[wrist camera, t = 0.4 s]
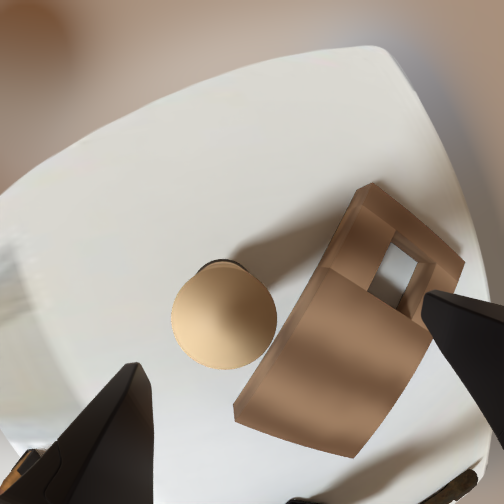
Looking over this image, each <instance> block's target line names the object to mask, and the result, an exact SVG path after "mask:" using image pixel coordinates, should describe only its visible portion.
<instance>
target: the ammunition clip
mask: <svg viewBox="0 0 504 504" xmlns="http://www.w3.org/2000/svg"><path fill="white" fill-rule="evenodd" d="M40 458H41V457H40V456H39V454H38V453H37V452H36V450H35V449H30V450H27V451H26V452H25V453H24V454H23V456H22V457H21V458H20V459H19V461H18V462H17V463H16V465H15V466H14V467H13V468H12V470H11V472H10V474H9V475H8V476H7V477H6V479H4V481H3V483H2V485H1V486H0V495H1V494H2V493H3V492H5V491H6V490H7V489H8V488H9V487H10V486H11V485H12V484H13V483H15V482H16V481H17V480H18V479H19V478H20V477H21V476H22V475H23V474H24V473H25V472H26V471H28V470H29V469H30V468H31V467H32V466H33V465H34V464H35V463H36V462H37V461H38V460H39V459H40Z"/></svg>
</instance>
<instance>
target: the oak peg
mask: <svg viewBox="0 0 504 504" xmlns="http://www.w3.org/2000/svg"><path fill="white" fill-rule="evenodd" d="M171 322H172V329H173V333H174V335H175V338H176V340H177V342H178V344H179V345H180V347H181V348H182V350H183V351H184V352H185V353H186V354H187V355H188V356H189V357H190V358H192V359H193V360H195V361H196V362H198V363H200V364H202V365H204V366H207V367H210V368H214V369H223V370H227V369H235V368H240V367H243V366H245V365H247V364H250V363H251V362H253V361H255V360H256V359H257V358H259V357H260V356H261V355H262V354H263V353H264V352H265V351H266V349H267V348H268V347H269V345H270V343H271V342H272V340H273V337H274V334H275V331H276V326H277V312H276V307H275V304H274V301H273V298H272V296H271V294H270V293H269V291H268V290H267V288H266V287H265V286H264V285H263V284H262V283H261V282H260V281H259V280H258V279H256V278H255V277H254V276H252V275H251V274H249V272H248V271H247V270H246V269H245V268H244V267H243V266H242V265H240V264H239V263H237V262H235V261H232V260H228V259H218V260H214V261H211V262H209V263H207V264H205V265H204V266H203V267H202V268H200V270H199V271H198V272H197V274H196V275H195V276H194V277H192V278H191V279H190V280H189V281H188V282H187V283H185V285H184V286H183V287H182V288H181V290H180V291H179V293H178V294H177V296H176V298H175V301H174V304H173V307H172V313H171Z"/></svg>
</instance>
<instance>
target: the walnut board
mask: <svg viewBox="0 0 504 504" xmlns="http://www.w3.org/2000/svg"><path fill="white" fill-rule="evenodd" d="M390 242H392V243H393V244H394V245H396V246H397V247H398V248H400V249H401V250H402V251H404V252H405V253H406V254H407V255H409V256H410V257H411V258H413V259H414V260H415V261H416V262H418V263H417V266H416V268H415V270H414V273H413V275H412V277H411V279H410V281H409V284H408V286H407V288H406V290H405V292H404V294H403V296H402V298H401V300H400V303H399V305H398V307H397V309H394V308H392V307H391V306H389V305H388V304H386V303H385V302H383V301H382V300H380V299H379V298H377V297H375V296H374V295H372V294H371V293H369V292H368V291H367V290H368V288H369V286H370V284H371V282H372V280H373V278H374V276H375V274H376V272H377V270H378V268H379V266H380V264H381V262H382V259H383V257H384V255H385V253H386V251H387V249H388V247H389V244H390ZM464 264H465V261H464V260H463V259H462V258H461V257H460V256H459V255H457V254H456V253H455V252H454V251H453V250H452V249H451V248H450V247H449V246H448V245H447V244H446V243H445V242H444V241H443V240H442V239H441V238H439V237H438V236H437V235H436V234H435V233H434V232H433V231H432V230H431V229H429V228H428V227H427V226H426V225H425V224H424V223H423V222H421V221H420V220H419V219H418V218H417V217H415V216H414V215H413V214H412V213H411V212H410V211H408V210H407V209H406V208H405V207H403V206H402V205H401V204H400V203H398V202H397V201H396V200H395V199H393V198H392V197H391V196H390V195H388V194H387V193H386V192H384V191H383V190H382V189H381V188H379V187H378V186H377V185H375V184H374V183H373V182H372V183H370V184H368V185H366V186H364V187H362V188H360V189H357V190H356V192H355V194H354V196H353V198H352V200H351V202H350V205H349V207H348V209H347V211H346V212H345V214H344V216H343V218H342V220H341V222H340V224H339V226H338V228H337V230H336V232H335V234H334V236H333V238H332V240H331V242H330V243H329V245H328V247H327V249H326V251H325V253H324V255H323V257H322V258H321V260H320V262H319V264H318V266H317V268H316V269H315V271H314V273H313V275H312V277H311V278H310V280H309V282H308V284H307V286H306V287H305V289H304V291H303V293H302V294H301V296H300V298H299V300H298V301H297V303H296V305H295V306H294V308H293V310H292V312H291V313H290V315H289V317H288V318H287V320H286V322H285V323H284V325H283V327H282V328H281V330H280V332H279V333H278V335H277V337H276V338H275V340H274V342H273V343H272V345H271V346H270V348H269V350H268V351H267V353H266V355H265V356H264V358H263V359H262V361H261V362H260V364H259V366H258V367H257V369H256V370H255V372H254V373H253V375H252V376H251V378H250V380H249V381H248V383H247V384H246V386H245V387H244V389H243V390H242V392H241V393H240V395H239V396H238V398H237V399H236V401H235V402H234V404H233V408H234V418H235V422H237V423H240V424H242V425H245V426H247V427H250V428H252V429H255V430H258V431H260V432H263V433H266V434H269V435H271V436H274V437H277V438H280V439H283V440H286V441H289V442H292V443H296V444H299V445H302V446H306V447H309V448H313V449H316V450H320V451H324V452H327V453H331V454H336V455H340V456H344V457H349V458H354V457H355V456H356V455H357V454H358V453H359V451H360V450H361V449H362V448H363V446H364V445H365V444H366V443H367V441H368V440H369V439H370V438H371V436H372V435H373V434H374V432H375V431H376V430H377V428H378V427H379V426H380V424H381V423H382V422H383V420H384V419H385V417H386V416H387V415H388V413H389V412H390V410H391V409H392V407H393V406H394V404H395V403H396V401H397V400H398V398H399V397H400V395H401V394H402V392H403V391H404V389H405V387H406V386H407V384H408V383H409V381H410V379H411V378H412V376H413V374H414V373H415V371H416V369H417V367H418V366H419V364H420V362H421V360H422V358H423V357H424V355H425V353H426V351H427V349H428V347H429V345H430V343H431V341H432V339H433V337H432V335H431V334H430V332H429V331H428V329H427V327H426V326H425V324H424V322H423V321H422V318H421V309H422V303H423V297H424V295H425V293H426V292H429V291H431V290H435V289H436V290H440V291H444V292H449V293H454V291H455V288H456V286H457V283H458V281H459V278H460V275H461V272H462V270H463V267H464Z"/></svg>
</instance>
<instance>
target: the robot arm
mask: <svg viewBox="0 0 504 504" xmlns="http://www.w3.org/2000/svg"><path fill="white" fill-rule="evenodd" d="M421 318H422V321H423V322H424V324H425V326H426V327H427V329H428V331H429V332H430V334H431V335H432V337H433V339H434V340H435V342H436V344H437V346H438V347H439V349H440V351H441V352H442V354H443V355H444V357H445V358H446V359H447V361H448V362H449V364H450V365H451V366H452V368H453V369H454V371H455V372H456V374H457V375H458V376H459V378H460V379H461V381H462V382H463V384H464V385H465V387H466V388H467V390H468V391H469V393H470V394H471V396H472V397H473V399H474V400H475V402H476V404H477V405H478V407H479V408H480V410H481V412H482V413H483V415H484V416H485V418H486V420H487V421H488V423H489V425H490V426H491V428H492V430H493V431H494V433H495V435H496V437H497V438H498V440H499V442H500V444H501V446H502V448H503V450H504V306H502V305H498V304H494V303H490V302H486V301H482V300H478V299H473V298H469V297H465V296H461V295H457V294H453V293H449V292H444V291H440V290H436V289H435V290H431V291H429V292H426V293H425V295H424V297H423V303H422V309H421ZM153 455H154V423H153V407H152V388H151V384H150V381H149V379H148V377H147V375H146V373H145V371H144V369H143V367H142V365H141V364H140V363H138V362H135V363H127V364H125V365H124V366H123V367H122V368H121V369H120V370H119V372H118V373H117V374H116V375H115V376H114V377H113V378H112V379H111V380H110V381H109V382H108V384H107V385H106V386H105V387H104V388H103V389H102V390H101V391H100V392H99V393H98V394H97V396H96V397H95V398H94V399H93V400H92V401H91V402H90V403H89V404H88V405H87V407H86V408H85V409H84V410H83V411H82V412H81V413H80V414H79V415H78V417H77V418H76V419H75V420H74V421H73V422H72V423H71V424H70V425H69V427H68V428H67V429H66V430H65V431H64V432H63V433H62V434H61V436H60V437H59V438H58V439H57V441H55V442H54V443H53V444H52V446H51V447H50V448H49V449H48V450H47V451H46V452H45V453H44V454H43V455H42V457H41V458H40V459H39V460H38V461H37V462H36V463H35V464H34V465H33V466H32V467H31V468H30V469H29V470H28V471H26V472H25V473H24V474H23V475H22V476H21V477H20V478H19V479H18V480H17V481H16V482H15V483H13V484H12V485H11V486H10V487H9V488H8V489H7V490H6V491H5V492H3V493H2V494H1V495H0V504H153ZM286 504H318V503H311V502H304V501H298V500H290V501H288V502H287V503H286Z"/></svg>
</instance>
